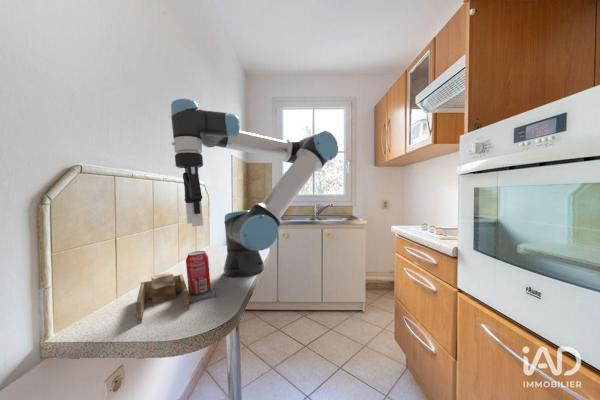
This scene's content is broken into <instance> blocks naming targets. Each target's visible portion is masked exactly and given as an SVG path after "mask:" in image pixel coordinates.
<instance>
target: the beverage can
mask: <svg viewBox="0 0 600 400" xmlns="http://www.w3.org/2000/svg"><path fill="white" fill-rule="evenodd" d="M206 252H207V251H205V250H197V251H192V252H189V253H187V257H186V259H185V265H186V267H185V268H186V274H187V275H186V279H187V290H188V291H189V293H191V294H193V295H198V294H203V293H205V292H207V291H208V290H209V289H210V288H211V289H212V287H211V286H212V285H211V275H210V264H209V262H210V261H209V256H208V254H207V253H206Z"/></svg>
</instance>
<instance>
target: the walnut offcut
mask: <svg viewBox="0 0 600 400" xmlns="http://www.w3.org/2000/svg"><path fill="white" fill-rule="evenodd" d="M151 294H152V298H151V303H152V304H154V303H160V302H164V301H168V300H171V298H172V299H175V297H176V296H177V295H176V292H175V284H172V285H168V286H165V287H161V288H158V289H154V288H153V287H151Z"/></svg>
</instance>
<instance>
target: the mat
mask: <svg viewBox="0 0 600 400" xmlns="http://www.w3.org/2000/svg"><path fill="white" fill-rule="evenodd" d="M214 297H216V293H215V292H214V290H213V289H212V287H211V288H210V289H209V290H208V291H207V292H205V293H203V294H198V295H193V294H191V293H189V291H188V300H189V304H191V303H190V302H192V303H195V302H199V301H203V300H206V299H209V298H211V299H212V298H214ZM198 300H199V301H198ZM194 301H195V302H194Z"/></svg>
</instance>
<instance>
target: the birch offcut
mask: <svg viewBox="0 0 600 400" xmlns="http://www.w3.org/2000/svg"><path fill="white" fill-rule="evenodd" d="M173 276H174V274H173V273H172V272H164V273H160V274H156V275H152V276H151V279H150V280H152V287H153V288H154V289H158V288H161V287H165V286H168V285H172V284H174V281H173Z"/></svg>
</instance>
